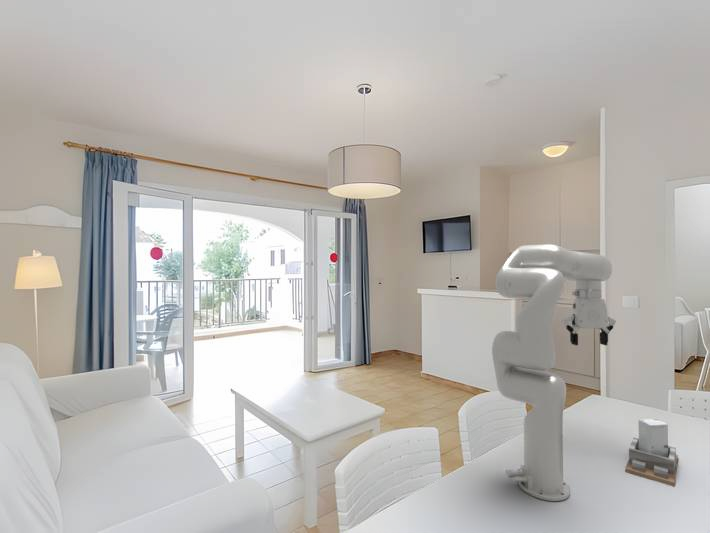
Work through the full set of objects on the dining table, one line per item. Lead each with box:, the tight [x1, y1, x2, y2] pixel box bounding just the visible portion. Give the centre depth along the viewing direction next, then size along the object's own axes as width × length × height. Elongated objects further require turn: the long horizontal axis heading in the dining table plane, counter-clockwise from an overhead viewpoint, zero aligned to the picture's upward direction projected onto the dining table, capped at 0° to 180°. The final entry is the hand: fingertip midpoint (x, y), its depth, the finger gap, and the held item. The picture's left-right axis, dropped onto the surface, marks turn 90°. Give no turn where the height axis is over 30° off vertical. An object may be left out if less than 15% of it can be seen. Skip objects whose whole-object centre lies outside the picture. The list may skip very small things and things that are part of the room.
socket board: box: [624, 437, 679, 487], centre depth 114 cm, size 20×11×5 cm, turn 137°
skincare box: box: [638, 418, 669, 458], centre depth 114 cm, size 6×4×12 cm
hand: (589, 344), depth 130 cm, fingers open, 9 cm apart
